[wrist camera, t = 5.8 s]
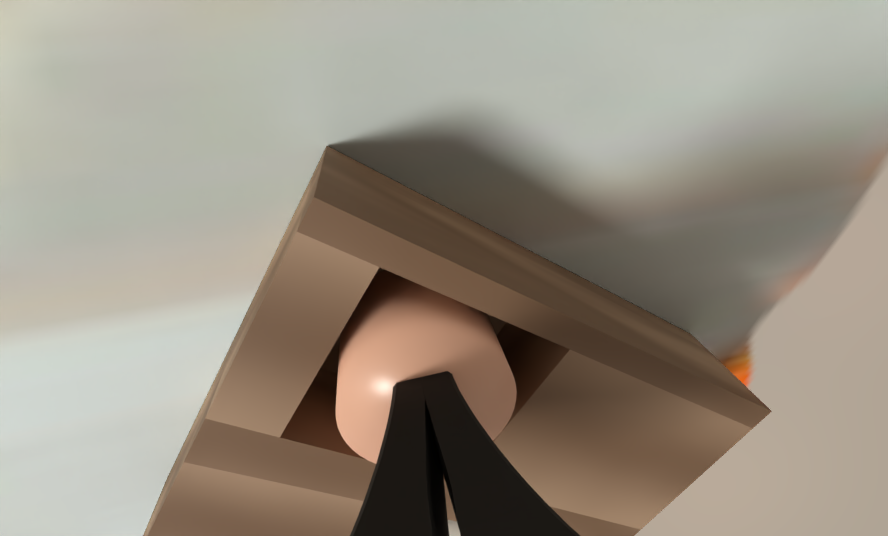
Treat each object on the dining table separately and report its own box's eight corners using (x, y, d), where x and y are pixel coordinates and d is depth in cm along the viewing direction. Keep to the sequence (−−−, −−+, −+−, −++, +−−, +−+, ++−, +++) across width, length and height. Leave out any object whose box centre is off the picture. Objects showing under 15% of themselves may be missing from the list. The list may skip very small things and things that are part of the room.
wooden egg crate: (492, 544, 22) (517, 640, 19) (166, 478, 17) (116, 598, 13) (690, 333, 18) (771, 411, 14) (326, 145, 12) (313, 196, 9)
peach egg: (439, 396, 16) (457, 485, 13) (316, 355, 14) (304, 446, 11) (511, 297, 14) (551, 371, 11) (383, 238, 12) (391, 307, 9)
